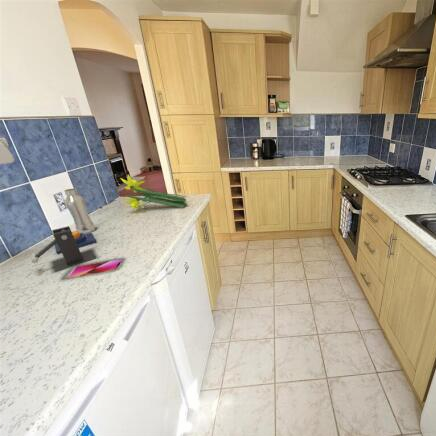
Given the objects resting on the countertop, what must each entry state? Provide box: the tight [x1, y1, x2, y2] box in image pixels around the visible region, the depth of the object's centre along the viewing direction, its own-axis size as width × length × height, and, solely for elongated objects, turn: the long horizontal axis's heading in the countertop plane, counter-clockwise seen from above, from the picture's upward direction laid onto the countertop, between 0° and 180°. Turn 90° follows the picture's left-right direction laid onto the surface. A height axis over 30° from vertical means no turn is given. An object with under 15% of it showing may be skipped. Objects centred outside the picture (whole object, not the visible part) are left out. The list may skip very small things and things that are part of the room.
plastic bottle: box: [64, 188, 96, 234], centre depth 104 cm, size 6×7×20 cm
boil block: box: [54, 232, 98, 255], centre depth 96 cm, size 12×10×4 cm
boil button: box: [71, 230, 81, 239], centre depth 95 cm, size 4×4×2 cm
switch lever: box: [31, 229, 66, 264], centre depth 80 cm, size 12×5×2 cm
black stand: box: [52, 225, 97, 273], centre depth 83 cm, size 11×9×13 cm
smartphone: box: [66, 258, 124, 279], centre depth 81 cm, size 7×1×15 cm
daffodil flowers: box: [119, 174, 187, 209], centre depth 132 cm, size 17×15×35 cm
